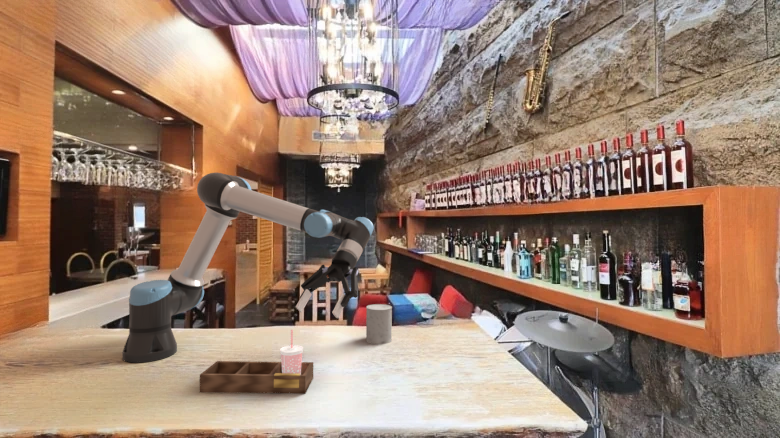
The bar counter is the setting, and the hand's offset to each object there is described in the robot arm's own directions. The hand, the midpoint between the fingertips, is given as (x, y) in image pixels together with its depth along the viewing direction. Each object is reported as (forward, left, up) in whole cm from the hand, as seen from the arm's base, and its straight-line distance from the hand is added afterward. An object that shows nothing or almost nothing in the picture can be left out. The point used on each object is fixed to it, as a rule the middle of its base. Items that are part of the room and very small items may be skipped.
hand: (316, 312), depth 112 cm
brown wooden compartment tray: (-13, -9, -17) cm, 24 cm away
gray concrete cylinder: (+17, +31, -18) cm, 40 cm away
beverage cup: (-5, -9, -17) cm, 19 cm away
